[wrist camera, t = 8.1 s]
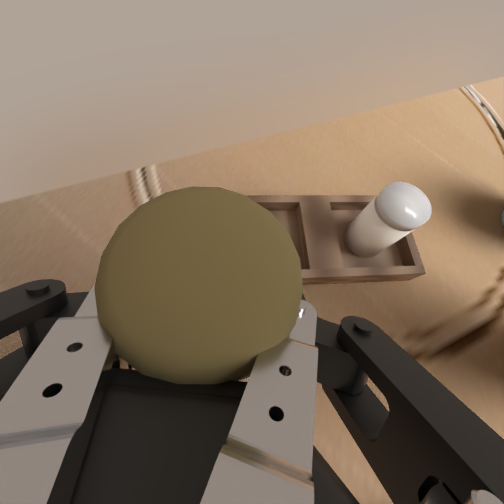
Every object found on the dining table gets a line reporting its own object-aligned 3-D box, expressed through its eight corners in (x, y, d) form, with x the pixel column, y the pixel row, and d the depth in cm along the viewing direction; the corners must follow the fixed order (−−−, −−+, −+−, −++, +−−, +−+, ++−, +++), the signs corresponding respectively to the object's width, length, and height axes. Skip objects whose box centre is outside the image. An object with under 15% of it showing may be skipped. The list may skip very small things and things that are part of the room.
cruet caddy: (386, 207, 36) (399, 195, 33) (408, 280, 32) (425, 273, 29) (221, 208, 34) (220, 195, 31) (222, 287, 29) (222, 281, 27)
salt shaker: (376, 221, 34) (421, 181, 26) (386, 257, 32) (439, 225, 24) (340, 222, 33) (375, 181, 25) (348, 258, 31) (389, 226, 23)
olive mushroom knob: (166, 282, 16) (55, 157, 6) (258, 269, 17) (300, 139, 7) (172, 386, 14) (10, 478, 4) (277, 364, 15) (384, 390, 4)
